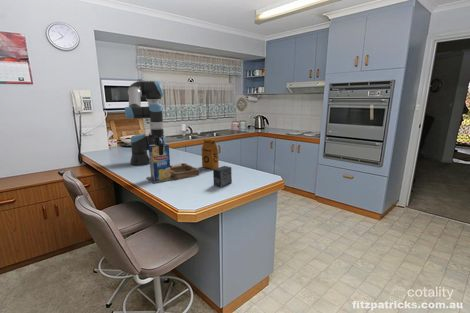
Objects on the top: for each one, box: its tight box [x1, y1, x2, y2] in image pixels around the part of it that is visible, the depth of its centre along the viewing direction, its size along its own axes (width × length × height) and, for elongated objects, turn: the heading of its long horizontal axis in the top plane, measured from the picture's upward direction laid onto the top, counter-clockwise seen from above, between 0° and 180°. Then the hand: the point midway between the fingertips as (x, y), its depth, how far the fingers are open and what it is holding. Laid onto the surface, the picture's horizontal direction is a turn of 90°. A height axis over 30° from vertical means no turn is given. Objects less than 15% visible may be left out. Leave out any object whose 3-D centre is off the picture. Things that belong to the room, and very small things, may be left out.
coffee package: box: [201, 138, 220, 170], centre depth 190 cm, size 10×12×22 cm
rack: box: [170, 162, 200, 181], centre depth 177 cm, size 22×17×4 cm
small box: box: [212, 165, 233, 188], centre depth 154 cm, size 11×6×10 cm, turn 141°
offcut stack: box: [170, 163, 182, 168], centre depth 183 cm, size 4×10×4 cm, turn 120°
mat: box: [146, 176, 176, 185], centre depth 165 cm, size 14×14×1 cm
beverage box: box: [148, 143, 171, 181], centre depth 163 cm, size 7×11×22 cm, turn 127°
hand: (159, 164), depth 163 cm, fingers open, 2 cm apart
